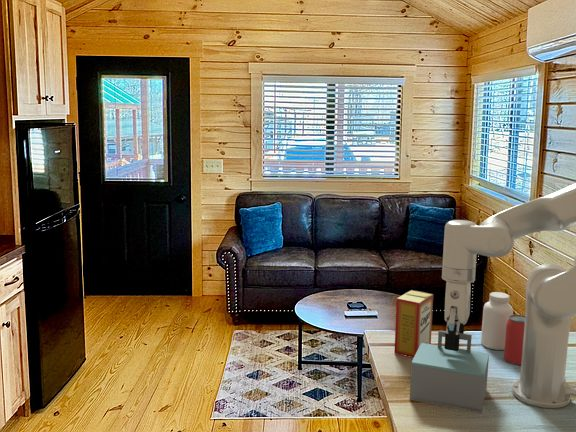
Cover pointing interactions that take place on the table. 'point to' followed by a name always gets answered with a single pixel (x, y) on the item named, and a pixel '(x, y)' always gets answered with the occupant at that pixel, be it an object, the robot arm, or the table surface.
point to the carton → (448, 388)
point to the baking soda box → (413, 322)
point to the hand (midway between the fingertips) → (454, 342)
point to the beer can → (514, 339)
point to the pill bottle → (495, 320)
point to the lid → (452, 357)
